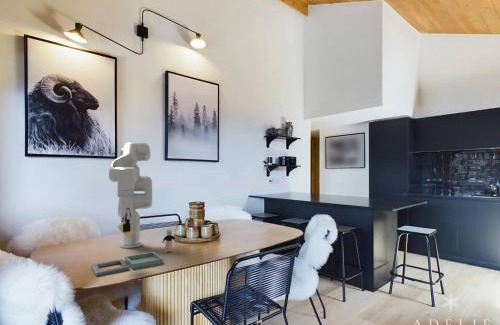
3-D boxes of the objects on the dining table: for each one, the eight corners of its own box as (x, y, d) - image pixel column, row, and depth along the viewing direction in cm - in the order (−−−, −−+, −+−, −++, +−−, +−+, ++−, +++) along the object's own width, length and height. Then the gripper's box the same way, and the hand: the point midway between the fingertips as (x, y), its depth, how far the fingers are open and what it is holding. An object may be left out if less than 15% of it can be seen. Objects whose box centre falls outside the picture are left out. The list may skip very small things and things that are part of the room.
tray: (124, 261, 151) (124, 256, 151) (153, 256, 159) (153, 251, 159) (132, 269, 139) (132, 264, 139) (163, 263, 148) (163, 258, 148)
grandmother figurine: (163, 253, 165) (164, 230, 165) (161, 251, 168) (161, 229, 168) (177, 251, 169) (177, 228, 169) (174, 249, 172) (174, 227, 172)
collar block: (91, 267, 142) (91, 264, 142) (122, 262, 150) (122, 259, 150) (96, 276, 130) (96, 273, 130) (129, 269, 138) (129, 266, 138)
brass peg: (126, 236, 146) (116, 226, 144) (132, 230, 148) (123, 220, 146) (128, 238, 143) (118, 228, 141) (134, 232, 145) (125, 222, 142)
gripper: (114, 192, 149) (114, 228, 149) (121, 195, 136) (121, 235, 135) (130, 191, 154) (129, 227, 153) (138, 194, 140) (138, 233, 140)
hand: (125, 230), depth 144 cm, fingers closed on brass peg, 3 cm apart
